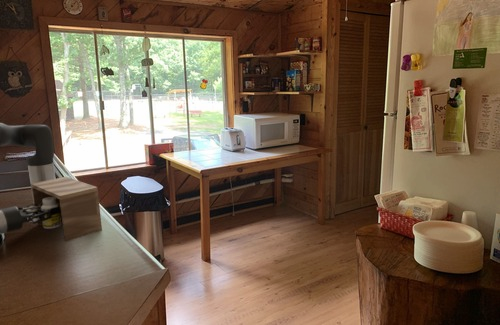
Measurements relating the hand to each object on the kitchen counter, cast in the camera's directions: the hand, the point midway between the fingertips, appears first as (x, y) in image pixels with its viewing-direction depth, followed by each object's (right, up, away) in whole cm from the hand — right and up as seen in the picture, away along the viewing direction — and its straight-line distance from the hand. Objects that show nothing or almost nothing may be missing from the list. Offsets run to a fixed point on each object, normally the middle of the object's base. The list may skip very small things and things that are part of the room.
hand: (57, 207), depth 123 cm
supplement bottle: (-2, -7, -1) cm, 7 cm away
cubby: (+3, -7, +2) cm, 8 cm away
